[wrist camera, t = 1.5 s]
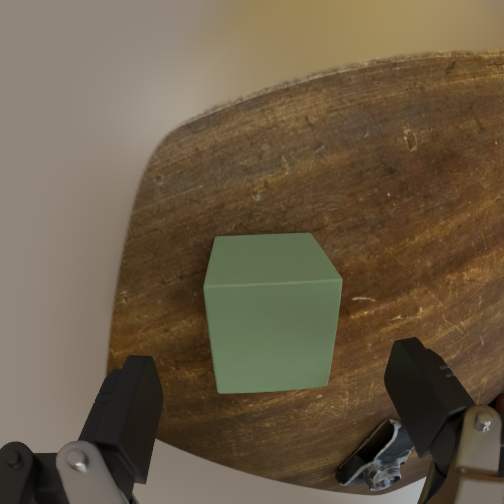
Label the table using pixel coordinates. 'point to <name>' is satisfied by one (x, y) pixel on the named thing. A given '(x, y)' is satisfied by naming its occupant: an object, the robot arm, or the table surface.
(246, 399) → the table surface
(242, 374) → the green box
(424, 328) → the table surface
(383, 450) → the camera
